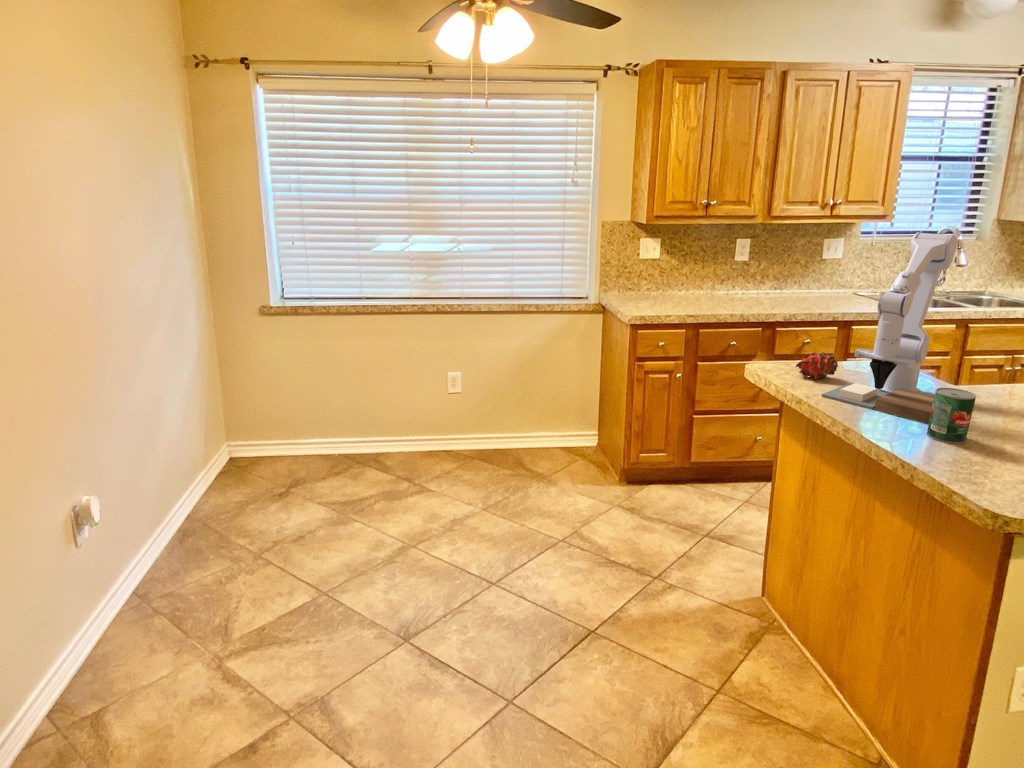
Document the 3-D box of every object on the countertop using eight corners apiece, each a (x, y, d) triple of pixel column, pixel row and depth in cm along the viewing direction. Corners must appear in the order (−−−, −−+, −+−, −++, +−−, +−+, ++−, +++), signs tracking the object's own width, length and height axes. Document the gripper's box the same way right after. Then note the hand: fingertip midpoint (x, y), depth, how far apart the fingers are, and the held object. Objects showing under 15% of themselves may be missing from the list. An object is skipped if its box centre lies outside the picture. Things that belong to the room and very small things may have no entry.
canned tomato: (929, 428, 162) (938, 385, 158) (968, 436, 157) (978, 392, 154) (923, 438, 156) (933, 393, 153) (963, 446, 151) (974, 400, 148)
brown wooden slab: (899, 397, 184) (901, 387, 183) (956, 411, 174) (959, 400, 173) (873, 409, 174) (876, 398, 173) (933, 425, 164) (935, 413, 163)
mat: (848, 385, 194) (848, 383, 194) (897, 397, 185) (898, 395, 184) (821, 396, 185) (821, 394, 184) (871, 409, 175) (872, 407, 175)
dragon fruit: (839, 385, 200) (796, 387, 203) (833, 362, 205) (791, 365, 208) (843, 367, 194) (799, 370, 196) (837, 344, 199) (794, 348, 202)
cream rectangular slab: (877, 388, 184) (876, 395, 184) (855, 383, 188) (854, 389, 189) (863, 394, 178) (861, 401, 179) (840, 389, 182) (839, 396, 183)
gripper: (853, 335, 178) (844, 384, 182) (911, 346, 167) (901, 397, 171) (864, 331, 182) (856, 379, 186) (922, 342, 172) (912, 392, 176)
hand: (878, 388), depth 179 cm, fingers closed
